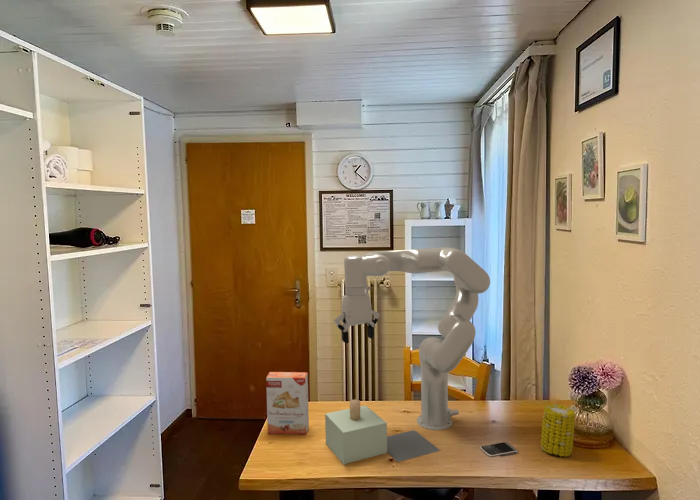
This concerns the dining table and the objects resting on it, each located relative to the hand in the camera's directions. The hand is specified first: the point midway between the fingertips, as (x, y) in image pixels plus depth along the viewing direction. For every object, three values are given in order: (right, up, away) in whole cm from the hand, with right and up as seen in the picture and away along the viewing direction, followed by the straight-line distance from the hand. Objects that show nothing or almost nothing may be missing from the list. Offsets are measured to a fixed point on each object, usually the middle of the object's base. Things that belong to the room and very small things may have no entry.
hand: (358, 340), depth 164 cm
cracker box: (-25, -34, +5) cm, 42 cm away
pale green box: (-1, -34, -8) cm, 35 cm away
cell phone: (+45, -34, -11) cm, 58 cm away
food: (+64, -34, -11) cm, 73 cm away
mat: (+16, -34, -7) cm, 38 cm away
